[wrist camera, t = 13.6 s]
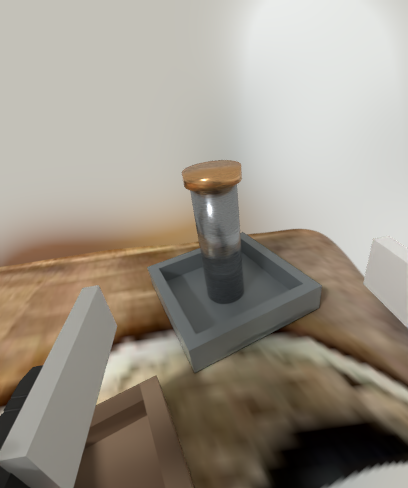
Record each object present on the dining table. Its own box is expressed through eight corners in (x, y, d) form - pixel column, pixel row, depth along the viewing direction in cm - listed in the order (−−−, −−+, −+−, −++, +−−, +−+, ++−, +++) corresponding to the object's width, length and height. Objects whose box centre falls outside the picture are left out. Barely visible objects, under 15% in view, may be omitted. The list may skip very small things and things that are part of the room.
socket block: (55, 454, 16) (36, 435, 14) (164, 396, 18) (156, 375, 16) (45, 650, 10) (13, 645, 9) (208, 529, 12) (200, 512, 11)
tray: (153, 285, 29) (147, 267, 27) (244, 249, 32) (243, 232, 31) (194, 372, 19) (188, 350, 18) (319, 307, 22) (321, 285, 21)
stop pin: (196, 286, 26) (174, 169, 20) (233, 271, 27) (223, 157, 21) (215, 314, 23) (195, 181, 17) (257, 295, 24) (253, 166, 18)
